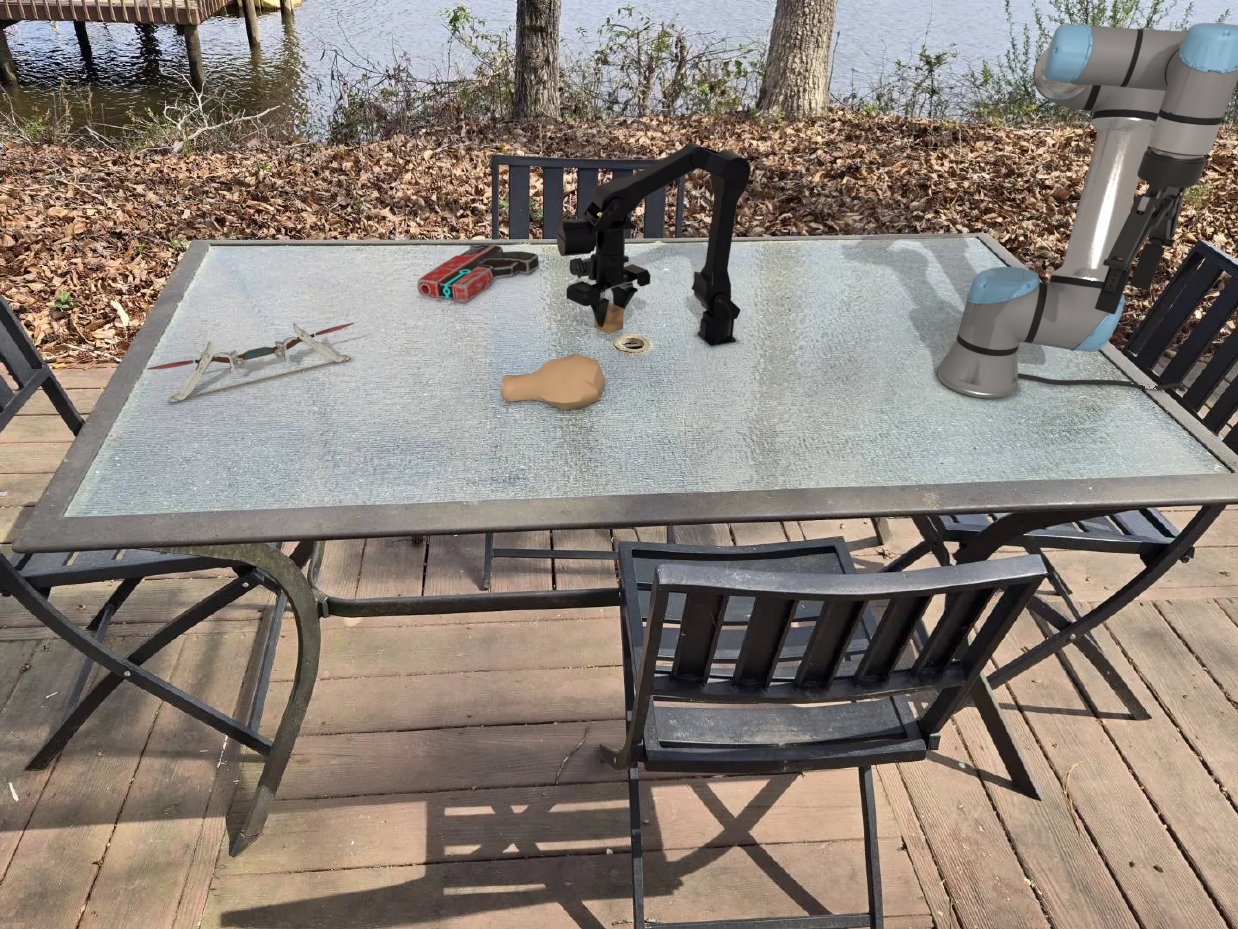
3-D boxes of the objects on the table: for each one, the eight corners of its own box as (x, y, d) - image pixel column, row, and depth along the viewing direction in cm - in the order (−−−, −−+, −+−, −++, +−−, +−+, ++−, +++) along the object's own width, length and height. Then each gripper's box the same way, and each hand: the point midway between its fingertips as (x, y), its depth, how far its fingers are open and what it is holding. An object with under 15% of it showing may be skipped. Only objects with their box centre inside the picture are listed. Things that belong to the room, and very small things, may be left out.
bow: (357, 354, 182) (350, 309, 176) (360, 358, 181) (353, 313, 175) (156, 402, 164) (141, 354, 158) (158, 406, 162) (143, 358, 157)
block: (608, 321, 185) (609, 302, 182) (623, 328, 182) (623, 308, 180) (594, 327, 182) (594, 307, 180) (608, 334, 180) (609, 314, 177)
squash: (607, 416, 164) (601, 378, 158) (502, 424, 166) (492, 387, 160) (608, 380, 172) (602, 343, 166) (508, 388, 174) (499, 351, 167)
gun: (542, 248, 224) (475, 239, 230) (485, 289, 199) (411, 278, 205) (543, 265, 226) (476, 256, 232) (486, 308, 202) (414, 296, 207)
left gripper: (615, 230, 183) (613, 299, 192) (547, 250, 172) (548, 323, 181) (653, 244, 177) (650, 315, 186) (586, 266, 166) (585, 341, 174)
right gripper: (1178, 132, 128) (1128, 271, 140) (1112, 161, 113) (1062, 313, 125) (1235, 142, 124) (1178, 284, 136) (1174, 174, 109) (1116, 330, 121)
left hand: (608, 323), depth 182 cm, fingers closed on block, 4 cm apart
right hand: (1122, 298), depth 130 cm, fingers open, 13 cm apart
